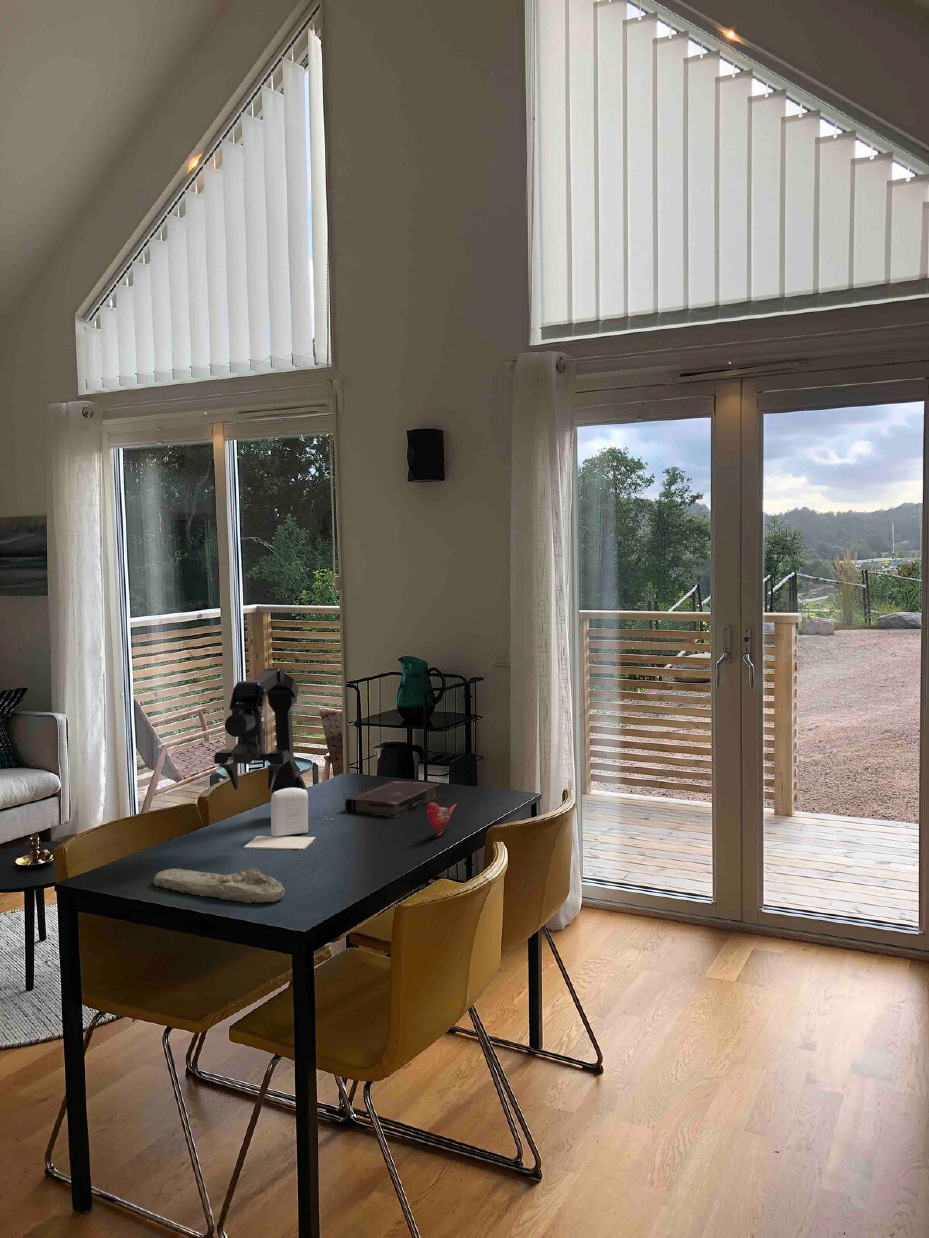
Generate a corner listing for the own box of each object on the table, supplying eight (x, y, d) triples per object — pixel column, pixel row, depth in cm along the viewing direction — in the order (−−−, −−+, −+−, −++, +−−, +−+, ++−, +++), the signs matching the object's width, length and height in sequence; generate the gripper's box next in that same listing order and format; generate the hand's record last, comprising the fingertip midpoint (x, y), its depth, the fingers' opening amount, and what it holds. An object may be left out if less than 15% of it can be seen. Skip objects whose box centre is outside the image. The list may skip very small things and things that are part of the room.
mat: (257, 837, 269) (257, 835, 269) (315, 838, 266) (315, 837, 266) (243, 848, 259) (243, 846, 259) (303, 849, 256) (303, 848, 256)
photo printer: (304, 830, 275) (303, 784, 275) (310, 832, 272) (310, 787, 271) (268, 835, 269) (268, 788, 269) (275, 838, 266) (274, 791, 266)
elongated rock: (174, 881, 238) (144, 897, 229) (171, 860, 238) (141, 875, 229) (296, 892, 223) (269, 909, 214) (293, 869, 222) (266, 885, 213)
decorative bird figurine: (423, 841, 261) (422, 803, 261) (452, 824, 277) (452, 789, 277) (433, 843, 260) (432, 804, 259) (462, 825, 276) (461, 789, 275)
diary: (344, 814, 295) (343, 797, 294) (391, 795, 316) (390, 779, 316) (397, 819, 285) (397, 802, 285) (442, 800, 307) (441, 783, 307)
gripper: (203, 735, 253) (206, 796, 254) (275, 735, 250) (277, 797, 251) (221, 727, 264) (223, 786, 265) (289, 728, 261) (291, 787, 262)
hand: (253, 789), depth 260 cm, fingers open, 9 cm apart
